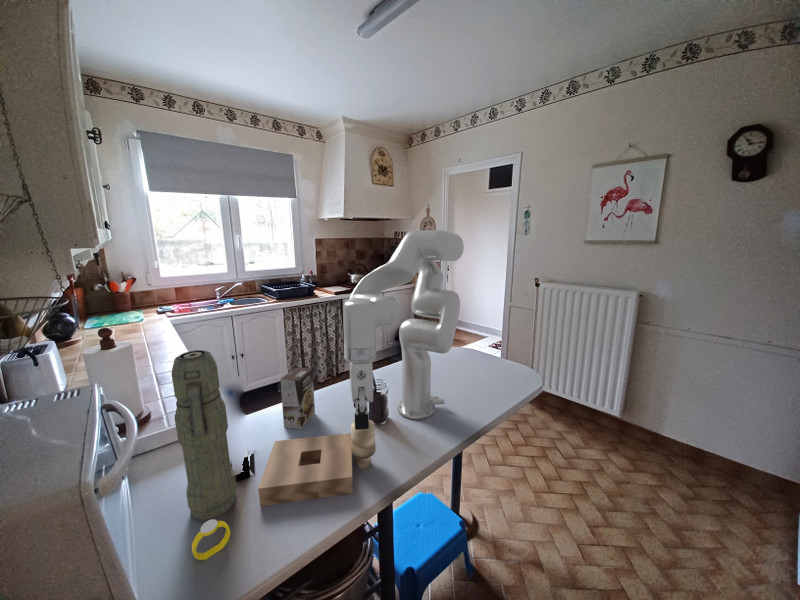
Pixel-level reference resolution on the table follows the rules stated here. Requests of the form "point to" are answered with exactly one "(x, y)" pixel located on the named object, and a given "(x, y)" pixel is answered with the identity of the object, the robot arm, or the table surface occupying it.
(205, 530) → the watch
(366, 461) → the peg
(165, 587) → the table surface
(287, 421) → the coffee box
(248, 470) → the black angular piece
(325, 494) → the board
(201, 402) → the thermos
